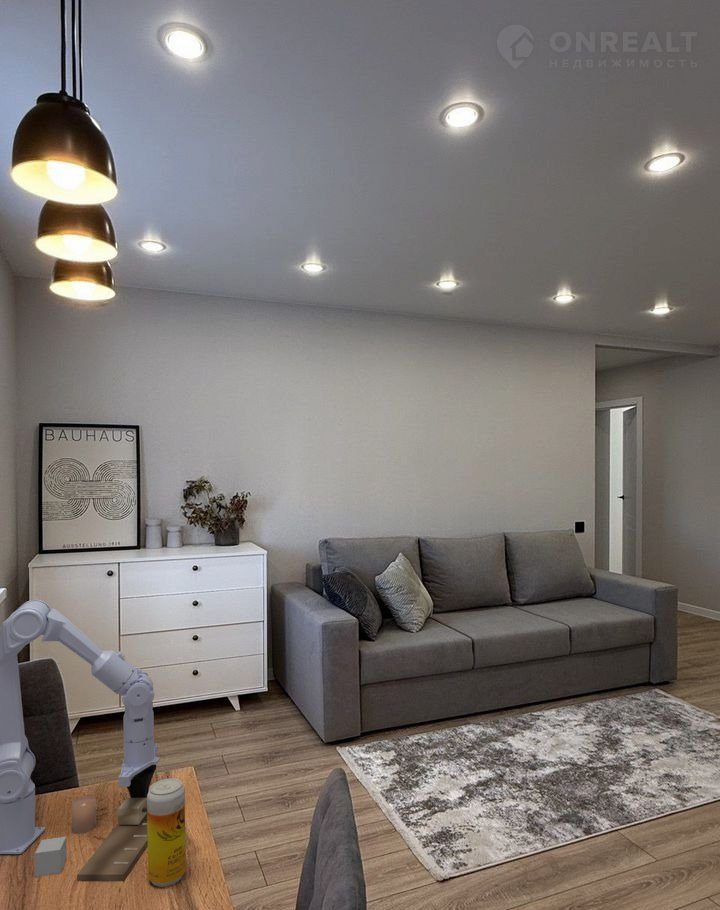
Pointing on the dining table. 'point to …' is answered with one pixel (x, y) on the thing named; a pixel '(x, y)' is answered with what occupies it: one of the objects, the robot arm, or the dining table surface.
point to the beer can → (166, 832)
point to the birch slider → (132, 811)
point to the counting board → (116, 854)
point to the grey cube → (50, 856)
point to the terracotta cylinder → (83, 814)
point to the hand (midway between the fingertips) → (139, 806)
